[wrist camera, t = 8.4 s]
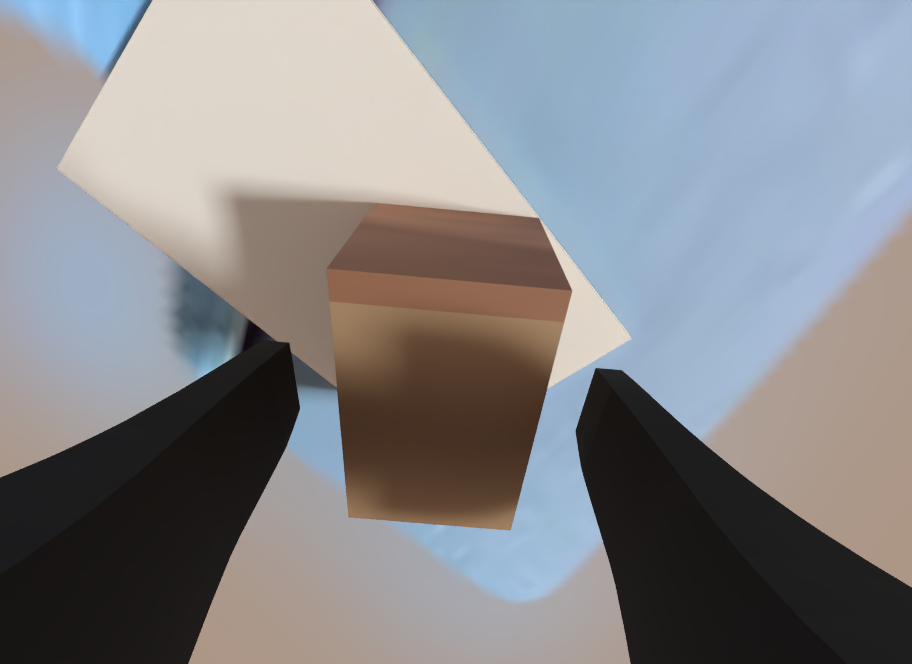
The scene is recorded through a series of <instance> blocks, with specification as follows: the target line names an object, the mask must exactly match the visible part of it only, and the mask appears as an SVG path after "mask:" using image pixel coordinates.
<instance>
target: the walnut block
mask: <svg viewBox="0 0 912 664" xmlns="http://www.w3.org/2000/svg"><path fill="white" fill-rule="evenodd" d="M326 270H327V281H328V293H329V304H330V315H331V326H332V337H333V348H334V360H335V371H336V382H337V393H338V404H339V415H340V427H341V438H342V449H343V460H344V471H345V482H346V494H347V505H348V516H349V517H352V518H364V519H376V520H388V521H401V522H413V523H425V524H438V525H450V526H463V527H475V528H487V529H500V530H511V527H512V523H513V519H514V515H515V511H516V507H517V504H518V500H519V496H520V492H521V488H522V484H523V480H524V476H525V473H526V469H527V465H528V461H529V457H530V453H531V449H532V446H533V442H534V438H535V434H536V430H537V426H538V422H539V418H540V415H541V411H542V407H543V403H544V399H545V395H546V391H547V387H548V384H549V380H550V376H551V372H552V368H553V364H554V360H555V356H556V353H557V349H558V345H559V341H560V337H561V333H562V329H563V325H564V322H565V318H566V314H567V310H568V306H569V302H570V298H571V294H572V289H571V287H570V284H569V282H568V280H567V278H566V276H565V273H564V271H563V269H562V267H561V265H560V263H559V260H558V258H557V256H556V254H555V252H554V250H553V247H552V245H551V243H550V241H549V239H548V237H547V234H546V232H545V230H544V228H543V226H542V224H541V221H540V219H539V218H534V217H523V216H512V215H501V214H491V213H480V212H469V211H458V210H447V209H437V208H426V207H415V206H404V205H394V204H383V203H375V204H374V205H373V207H372V208H371V209H370V211H369V212H368V213H367V215H366V216H365V218H364V219H363V220H362V222H361V223H360V224H359V226H358V227H357V228H356V230H355V231H354V232H353V234H352V235H351V236H350V238H349V239H348V240H347V242H346V243H345V244H344V246H343V247H342V248H341V250H340V251H339V252H338V254H337V255H336V256H335V258H334V259H333V260H332V262H331V263H330V264H329V266H328V267H327V268H326Z"/></svg>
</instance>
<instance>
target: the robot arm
mask: <svg viewBox="0 0 912 664" xmlns="http://www.w3.org/2000/svg"><path fill="white" fill-rule="evenodd" d="M299 410H300V405H299V399H298V393H297V386H296V380H295V374H294V368H293V362H292V356H291V349H290V343H288V342H276V341H264V340H263V341H261V342H260V343H258V344H256V345H254V346H252V347H250V348H249V349H247V350H245V351H244V352H242V353H240V354H239V355H237V356H235V357H234V358H232V359H231V360H229V361H227V362H226V363H224V364H222V365H221V366H219V367H218V368H216V369H214V370H213V371H211V372H209V373H208V374H206V375H204V376H203V377H201V378H199V379H198V380H196V381H195V382H193V383H191V384H190V385H188V386H186V387H185V388H183V389H181V390H180V391H178V392H176V393H174V394H172V395H171V396H169V397H167V398H165V399H163V400H162V401H160V402H158V403H156V404H155V405H153V406H151V407H149V408H147V409H146V410H144V411H142V412H140V413H138V414H137V415H135V416H133V417H131V418H129V419H128V420H126V421H124V422H122V423H120V424H118V425H116V426H114V427H112V428H110V429H108V430H106V431H104V432H102V433H100V434H98V435H96V436H94V437H92V438H90V439H88V440H85V441H83V442H81V443H79V444H77V445H75V446H73V447H71V448H69V449H66V450H64V451H62V452H60V453H58V454H56V455H53V456H51V457H49V458H47V459H44V460H42V461H39V462H37V463H34V464H32V465H30V466H27V467H25V468H23V469H20V470H18V471H15V472H13V473H10V474H8V475H6V476H3V477H1V478H0V664H188V663H189V660H190V658H191V655H192V652H193V650H194V647H195V644H196V642H197V639H198V637H199V634H200V631H201V629H202V626H203V623H204V621H205V618H206V616H207V613H208V610H209V608H210V605H211V603H212V600H213V597H214V595H215V593H216V590H217V588H218V585H219V583H220V581H221V578H222V576H223V573H224V571H225V568H226V566H227V563H228V561H229V558H230V556H231V554H232V552H233V550H234V548H235V545H236V543H237V541H238V539H239V537H240V535H241V533H242V531H243V529H244V527H245V525H246V524H247V521H248V520H249V518H250V516H251V514H252V512H253V510H254V508H255V506H256V504H257V503H258V501H259V499H260V497H261V495H262V493H263V491H264V489H265V487H266V485H267V483H268V481H269V479H270V478H271V476H272V474H273V472H274V470H275V468H276V466H277V464H278V462H279V460H280V458H281V456H282V454H283V452H284V450H285V448H286V446H287V444H288V441H289V438H290V436H291V433H292V430H293V428H294V425H295V422H296V419H297V416H298V413H299ZM576 437H577V444H578V451H579V457H580V462H581V468H582V472H583V476H584V479H585V483H586V486H587V490H588V493H589V496H590V500H591V503H592V506H593V510H594V513H595V516H596V520H597V523H598V526H599V529H600V533H601V536H602V539H603V543H604V546H605V549H606V552H607V555H608V559H609V562H610V566H611V569H612V574H613V577H614V581H615V585H616V589H617V594H618V600H619V605H620V610H621V615H622V619H623V624H624V630H625V634H626V640H627V646H628V651H629V657H630V662H631V664H912V587H910V586H908V585H906V584H905V583H903V582H902V581H900V580H898V579H897V578H894V577H893V576H891V575H890V574H888V573H886V572H885V571H883V570H882V569H880V568H878V567H877V566H875V565H873V564H872V563H870V562H868V561H867V560H865V559H864V558H862V557H860V556H859V555H857V554H856V553H854V552H852V551H851V550H850V549H848V548H846V547H845V546H843V545H842V544H840V543H839V542H837V541H835V540H834V539H832V538H831V537H829V536H828V535H826V534H825V533H823V532H821V531H820V530H818V529H817V528H815V527H814V526H812V525H811V524H810V523H808V522H807V521H805V520H804V519H802V518H800V517H799V516H798V515H796V514H795V513H793V512H792V511H791V510H789V509H788V508H786V507H785V506H784V505H782V504H781V503H779V502H778V501H777V500H775V499H774V498H773V497H771V496H770V495H768V494H767V493H766V492H764V491H763V490H761V489H760V488H759V487H757V486H756V485H755V484H753V483H752V482H751V481H749V480H748V479H747V478H746V477H744V476H743V475H742V474H740V473H739V472H738V471H736V470H735V469H734V468H733V467H732V466H730V465H729V464H728V463H727V462H725V461H724V460H723V459H722V458H720V457H719V456H718V455H717V454H716V453H714V452H713V451H712V450H711V449H710V448H708V447H707V446H706V445H705V444H704V443H703V442H701V441H700V440H699V439H698V438H697V437H696V436H694V435H693V434H692V433H691V432H690V431H689V430H688V429H686V428H685V427H684V426H683V425H682V424H681V423H680V422H679V421H677V420H676V419H675V418H674V417H673V416H672V415H671V414H670V413H669V412H668V411H666V410H665V409H664V408H663V407H662V406H661V405H660V404H659V403H658V402H657V401H656V400H654V399H653V398H652V397H651V396H650V395H649V394H648V393H647V392H646V391H645V390H644V389H642V388H641V387H640V386H639V385H638V384H637V383H636V382H635V381H634V380H633V379H631V378H630V377H629V376H628V375H627V374H625V373H624V372H623V371H622V370H612V369H600V368H596V369H595V372H594V375H593V378H592V381H591V384H590V387H589V391H588V394H587V397H586V400H585V403H584V406H583V409H582V412H581V416H580V419H579V422H578V425H577V428H576Z"/></svg>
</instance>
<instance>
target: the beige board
mask: <svg viewBox="0 0 912 664" xmlns="http://www.w3.org/2000/svg"><path fill="white" fill-rule="evenodd" d="M56 169H57V170H59V171H60V172H61V173H62V174H63V175H65V176H66V177H67V178H69V179H70V180H71V181H72V182H74V183H75V184H76V185H78V186H79V187H80V188H82V189H83V190H84V191H86V193H88V194H89V195H91V196H92V197H93V198H94V199H96V200H97V201H98V202H99V203H101V204H102V205H103V206H104V207H106V208H107V209H108V210H110V211H111V212H112V213H114V214H115V215H116V216H117V217H118V218H120V219H121V220H122V221H124V222H125V223H126V224H127V225H129V226H130V227H131V228H133V229H134V230H135V231H137V232H138V233H139V234H140V235H142V236H143V237H144V238H145V239H147V240H148V241H149V242H151V243H152V244H154V246H156V247H157V248H158V249H159V250H161V251H162V252H163V253H165V254H166V255H167V256H168V257H170V258H171V259H172V260H174V261H175V262H176V263H177V264H179V265H180V266H181V267H183V268H184V269H185V270H186V271H188V272H189V273H190V274H192V275H193V276H194V277H195V278H197V279H198V280H199V281H200V282H202V283H203V284H204V285H206V286H207V287H208V288H209V289H211V290H212V291H213V292H215V293H216V294H217V295H218V296H220V297H221V298H222V299H224V300H225V301H226V302H227V303H229V304H230V305H231V306H232V307H234V308H235V309H236V310H238V311H239V312H240V313H241V314H243V315H244V316H245V317H247V318H248V319H249V320H250V321H252V322H253V323H254V324H256V325H257V326H258V327H259V328H261V329H262V330H263V331H265V332H266V333H267V334H268V335H270V336H271V337H272V338H273V339H275V340H276V341H277V342H288V343H290V349H291V353H293V354H294V355H295V356H297V357H298V358H299V359H300V360H302V361H303V362H304V363H306V364H307V365H308V366H309V367H311V368H312V369H313V370H314V371H316V372H317V373H318V374H320V375H321V376H322V377H323V378H325V379H326V380H327V381H329V382H330V383H331V384H332V385H334V386H335V387H336V388H337V382H336V371H335V360H334V348H333V337H332V326H331V315H330V304H329V293H328V281H327V270H326V268H327V267H328V266H329V264H330V263H331V262H332V260H333V259H334V258H335V256H336V255H337V254H338V252H339V251H340V250H341V248H342V247H343V246H344V244H345V243H346V242H347V240H348V239H349V238H350V236H351V235H352V234H353V232H354V231H355V230H356V228H357V227H358V226H359V224H360V223H361V222H362V220H363V219H364V218H365V216H366V215H367V213H368V212H369V211H370V209H371V208H372V207H373V205H374V204H375V203H383V204H394V205H404V206H415V207H426V208H437V209H447V210H458V211H469V212H480V213H491V214H501V215H512V216H523V217H534V218H539V219H540V217H539V216H538V215H537V213H536V212H535V211H534V210H533V208H532V207H531V206H530V204H529V203H528V202H527V200H526V199H525V198H524V197H523V195H522V194H521V193H520V191H519V190H518V189H517V187H516V186H515V185H514V184H513V182H512V181H511V180H510V178H509V177H508V176H507V174H506V173H505V172H504V171H503V169H502V168H501V167H500V165H499V164H498V163H497V161H496V160H495V159H494V158H493V156H492V155H491V154H490V152H489V151H488V150H487V148H486V147H485V146H484V145H483V143H482V142H481V141H480V139H479V138H478V137H477V135H476V134H475V133H474V132H473V130H472V129H471V128H470V126H469V125H468V124H467V123H466V121H465V120H464V119H463V117H462V116H461V115H460V113H459V112H458V111H457V110H456V108H455V107H454V106H453V104H452V103H451V102H450V100H449V99H448V98H447V97H446V95H445V94H444V93H443V91H442V90H441V89H440V87H439V86H438V85H437V84H436V82H435V81H434V80H433V78H432V77H431V76H430V74H429V73H428V72H427V71H426V69H425V68H424V67H423V65H422V64H421V63H420V61H419V60H418V59H417V58H416V56H415V55H414V54H413V52H412V51H411V50H410V49H409V47H408V46H407V45H406V43H405V42H404V41H403V39H402V38H401V37H400V36H399V34H398V33H397V32H396V30H395V29H394V28H393V26H392V25H391V24H390V23H389V21H388V20H387V19H386V17H385V16H384V15H383V13H382V12H381V11H380V10H379V8H378V7H377V6H376V4H375V3H374V2H373V0H152V2H151V4H150V6H149V7H148V9H147V11H146V13H145V14H144V16H143V18H142V20H141V21H140V23H139V25H138V27H137V28H136V30H135V32H134V34H133V35H132V37H131V39H130V41H129V42H128V44H127V46H126V48H125V49H124V51H123V53H122V55H121V56H120V58H119V60H118V62H117V63H116V65H115V67H114V68H113V70H112V72H111V74H110V75H109V77H108V79H107V81H106V82H105V84H104V86H103V88H102V89H101V91H100V93H99V95H98V97H97V98H96V100H95V102H94V103H93V105H92V107H91V109H90V110H89V113H88V114H87V116H86V117H85V119H84V121H83V123H82V124H81V126H80V128H79V130H78V131H77V133H76V135H75V137H74V138H73V140H72V142H71V144H70V145H69V147H68V149H67V151H66V152H65V154H64V156H63V158H62V159H61V161H60V163H59V165H58V166H57V168H56ZM540 221H541V224H542V226H543V228H544V230H545V232H546V234H547V237H548V239H549V241H550V243H551V245H552V247H553V250H554V252H555V254H556V256H557V258H558V260H559V263H560V265H561V267H562V269H563V271H564V273H565V276H566V278H567V280H568V282H569V284H570V287H571V289H572V294H571V298H570V302H569V306H568V310H567V314H566V318H565V322H564V325H563V329H562V333H561V337H560V341H559V345H558V349H557V353H556V356H555V360H554V364H553V368H552V372H551V376H550V380H549V384H548V387H547V389H548V388H549V387H551V386H553V385H554V384H556V383H558V382H559V381H561V380H563V379H564V378H566V377H568V376H569V375H571V374H573V373H575V372H576V371H578V370H580V369H581V368H583V367H585V366H586V365H588V364H590V363H591V362H593V361H595V360H596V359H598V358H600V357H601V356H603V355H605V354H607V353H608V352H610V351H612V350H613V349H615V348H617V347H618V346H620V345H622V344H623V343H625V342H627V341H628V340H630V339H631V337H630V335H629V334H628V332H627V330H626V329H625V328H624V326H623V325H622V324H621V322H620V321H619V320H618V319H617V317H616V316H615V315H614V313H613V312H612V311H611V309H610V308H609V307H608V306H607V304H606V303H605V302H604V300H603V299H602V298H601V296H600V295H599V294H598V293H597V291H596V290H595V289H594V287H593V286H592V285H591V284H590V282H589V281H588V280H587V278H586V277H585V276H584V274H583V273H582V272H581V271H580V269H579V268H578V267H577V265H576V264H575V263H574V261H573V260H572V259H571V258H570V256H569V255H568V254H567V252H566V251H565V250H564V248H563V247H562V246H561V245H560V243H559V242H558V241H557V239H556V238H555V237H554V235H553V234H552V233H551V232H550V230H549V229H548V228H547V226H546V225H545V224H544V222H543V221H542V220H541V219H540Z"/></svg>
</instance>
